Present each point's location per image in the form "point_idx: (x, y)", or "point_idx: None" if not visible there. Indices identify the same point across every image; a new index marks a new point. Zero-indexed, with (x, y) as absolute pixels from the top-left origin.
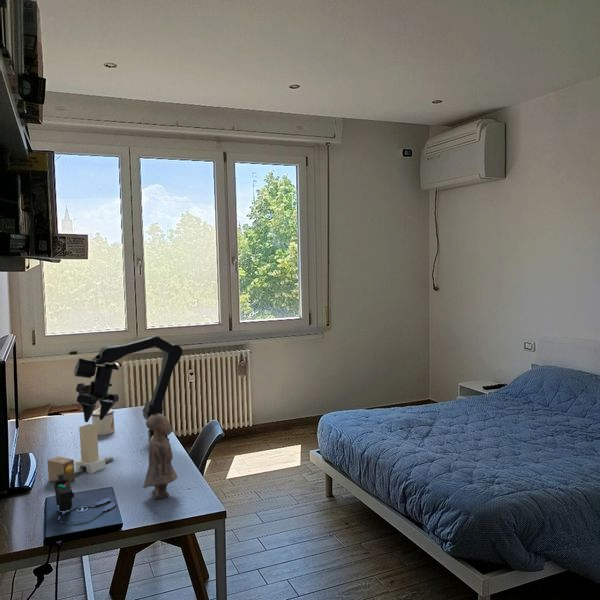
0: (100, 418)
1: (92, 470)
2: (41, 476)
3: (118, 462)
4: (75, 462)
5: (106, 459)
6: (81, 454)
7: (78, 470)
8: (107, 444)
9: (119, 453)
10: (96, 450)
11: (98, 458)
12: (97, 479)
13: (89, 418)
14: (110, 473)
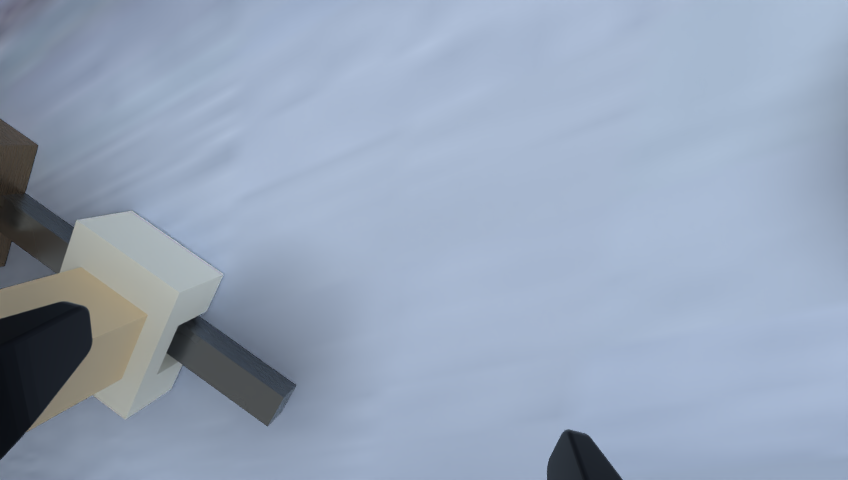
0: (560, 461)
1: None
2: (31, 13)
3: (251, 449)
4: (84, 220)
5: (232, 390)
6: (25, 286)
7: (59, 258)
8: (705, 284)
9: (423, 431)
10: None
11: (115, 380)
12: None
13: (14, 430)
14: (99, 431)
